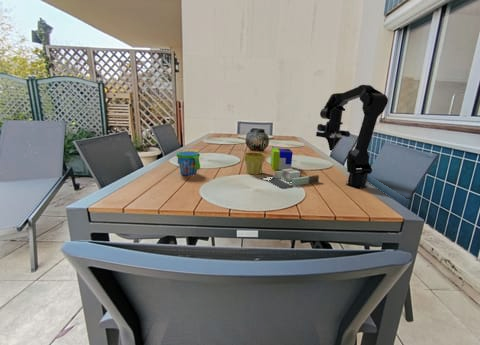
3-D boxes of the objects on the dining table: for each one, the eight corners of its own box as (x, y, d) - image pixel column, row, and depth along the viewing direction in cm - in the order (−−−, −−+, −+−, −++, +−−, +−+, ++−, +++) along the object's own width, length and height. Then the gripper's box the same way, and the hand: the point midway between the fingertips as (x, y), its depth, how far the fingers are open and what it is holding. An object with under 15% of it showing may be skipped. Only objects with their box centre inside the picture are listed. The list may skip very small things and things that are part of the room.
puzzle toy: (290, 170, 134) (292, 152, 131) (272, 169, 134) (273, 151, 131) (287, 166, 143) (289, 149, 141) (270, 165, 143) (271, 148, 141)
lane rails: (318, 181, 114) (319, 175, 113) (293, 185, 107) (293, 179, 106) (298, 174, 125) (299, 168, 125) (274, 177, 118) (275, 171, 118)
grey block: (299, 182, 113) (300, 171, 112) (289, 183, 111) (290, 172, 109) (290, 178, 118) (291, 168, 117) (280, 179, 116) (281, 169, 114)
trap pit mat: (293, 187, 106) (293, 186, 106) (282, 188, 103) (282, 187, 103) (271, 177, 119) (271, 176, 119) (261, 178, 116) (261, 177, 116)
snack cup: (171, 171, 122) (170, 151, 120) (190, 168, 129) (190, 149, 126) (186, 179, 111) (185, 157, 108) (206, 175, 117) (206, 154, 114)
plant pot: (262, 176, 120) (263, 156, 117) (241, 174, 122) (242, 155, 119) (264, 171, 130) (266, 152, 127) (245, 169, 132) (246, 151, 129)
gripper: (335, 119, 135) (331, 147, 140) (310, 118, 127) (306, 148, 131) (352, 120, 126) (348, 150, 130) (326, 120, 117) (322, 152, 121)
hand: (331, 150), depth 128 cm, fingers closed
